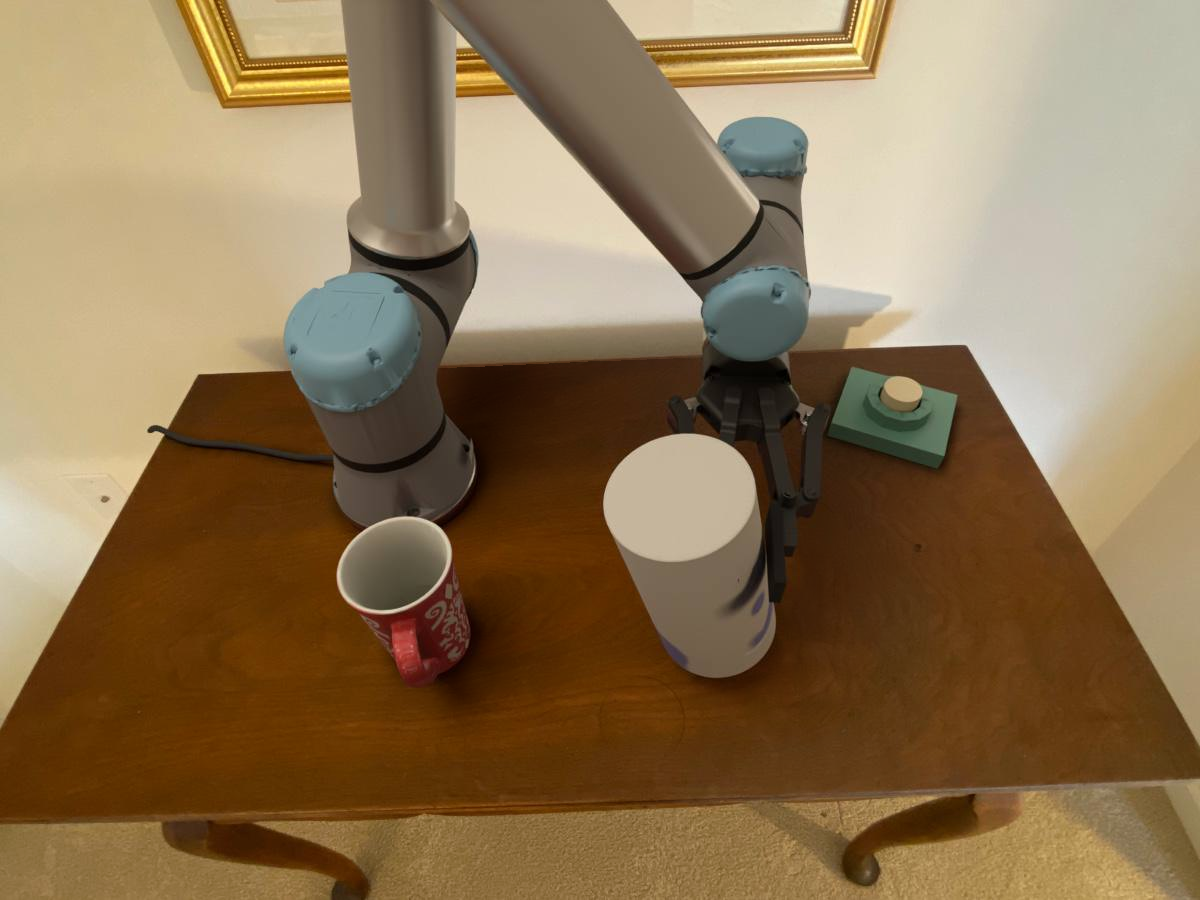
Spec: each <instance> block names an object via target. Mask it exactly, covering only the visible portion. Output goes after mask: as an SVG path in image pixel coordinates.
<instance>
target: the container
mask: <svg viewBox="0 0 1200 900" xmlns="http://www.w3.org/2000/svg"><path fill="white" fill-rule="evenodd" d="M604 490H605V491H604V494H603V504H602V505H603V514H604V519H605V522H606V525H607V527H608V529H609V531H610V533H611V535H612V537H613V540H614V542H615V544H616V546H617V549H618V551H619V553H620V555H621V557H622V559H623V562H624V564H625V565H626V568H627V570H628V572H629V575H630V576H631V579H632V581H633V583H634V585H635V587H636V589H637V591H638V593H639V596H640V598H641V601H642V602H643V603H644V604H643V605H644V606H645V609H646V611H647V613H648V614H649V618H650V619H651V621H652V624H653V626H654V629H655V631H656V633H657V635H658V637H659V639H660V641H661V643H662V646H663V647H664V649H665V651H666V653H667V654H668V656H669V657H670V658H671V659H672V660H673V661H674V662H675V663H676V664H677V665H679V666H680V667H681V668H683V669H684V670H686V671H688V672H690V673H692V674H694V675H697V676H701V677H704V678H713V679H717V678H718V679H720V678H728V677H733V676H737V675H739V674H741V673H742V674H743V673H744V672H745V671H748V670H749V669H751V668H752V667H754V666H756V664H757V663H759V662H760V661H761V659H763V658H764V657H765V655H766V654H767V652H768V651H769V650H770V647H771V646H772V643H773V640H774V638H775V634H776V629H777V628H776V627H777V616H776V610H775V609H776V608H775V603H771V602H769V596H768V578H767V559H766V543H765V537H764V534H763V533H764V532H763V525H762V518H761V513H760V505H759V500H758V493H757V486H756V479H755V476H754V473H753V471H752V469H751V466H750V465H749V463H748V461H747V460H746V459H745V457H744V456H743V455H742V454H741V453H740V452H739V451H738V450H737V449H736V448H735V447H731V446H730V445H728V444H727V443H725V442H723V441H721V440H719V438H716V437H713V436H709V435H705V434H699V433H695V434H670V435H669V434H668V435H665V436H662V437H658V438H655V439H653V440H650V441H648V442H646V443H644V444H642V445H640V446H639V447H637V448H636V449H634V450H633V451H631V452H630V453H628V454H627V456H625V457H624V458H623V459H622V460H621V461H620V463H618V465H617V466H616V467H615V469H614V471H612V473H611V475H610V477H609V479H608V481H607V483H606V487H605V489H604ZM738 579H739V582H738Z"/></svg>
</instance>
